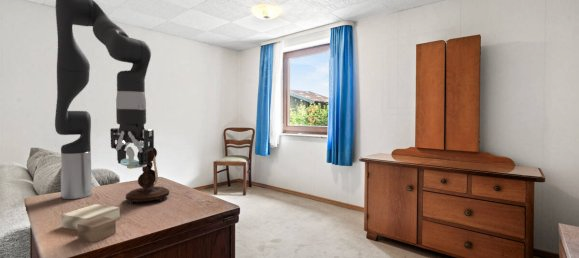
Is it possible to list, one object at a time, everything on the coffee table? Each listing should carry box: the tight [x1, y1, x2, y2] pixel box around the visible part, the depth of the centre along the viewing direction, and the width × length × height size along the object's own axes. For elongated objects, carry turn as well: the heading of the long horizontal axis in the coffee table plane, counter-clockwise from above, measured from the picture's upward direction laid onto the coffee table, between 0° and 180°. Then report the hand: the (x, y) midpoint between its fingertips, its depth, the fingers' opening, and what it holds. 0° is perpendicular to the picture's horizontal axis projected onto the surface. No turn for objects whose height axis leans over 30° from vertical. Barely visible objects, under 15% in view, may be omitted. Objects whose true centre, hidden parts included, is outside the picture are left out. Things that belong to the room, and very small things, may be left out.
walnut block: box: [77, 216, 117, 243], centre depth 74 cm, size 6×6×4 cm
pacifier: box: [120, 146, 147, 170], centre depth 83 cm, size 7×6×6 cm
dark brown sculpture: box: [125, 147, 170, 205], centre depth 106 cm, size 15×15×20 cm
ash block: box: [61, 203, 121, 231], centre depth 83 cm, size 10×10×4 cm
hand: (132, 164), depth 82 cm, fingers closed on pacifier, 7 cm apart
